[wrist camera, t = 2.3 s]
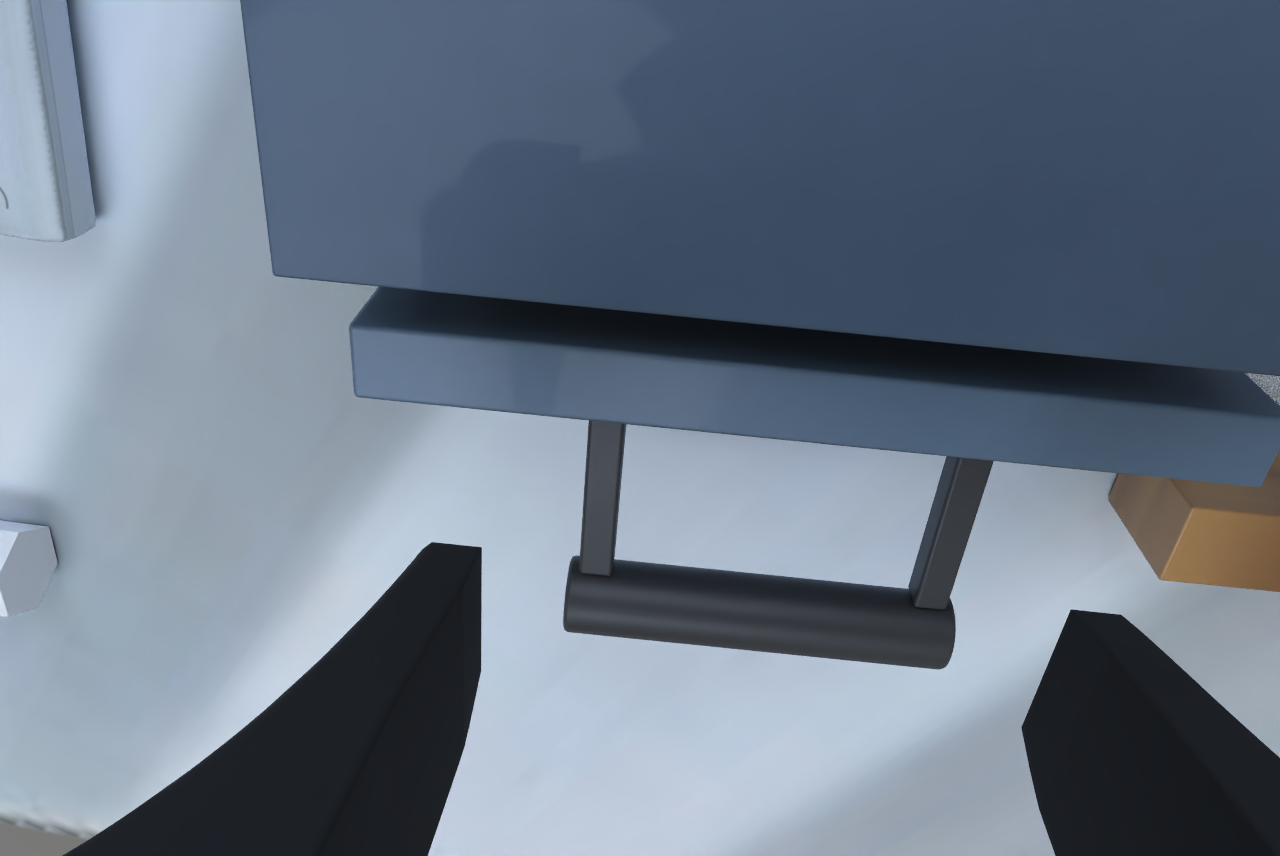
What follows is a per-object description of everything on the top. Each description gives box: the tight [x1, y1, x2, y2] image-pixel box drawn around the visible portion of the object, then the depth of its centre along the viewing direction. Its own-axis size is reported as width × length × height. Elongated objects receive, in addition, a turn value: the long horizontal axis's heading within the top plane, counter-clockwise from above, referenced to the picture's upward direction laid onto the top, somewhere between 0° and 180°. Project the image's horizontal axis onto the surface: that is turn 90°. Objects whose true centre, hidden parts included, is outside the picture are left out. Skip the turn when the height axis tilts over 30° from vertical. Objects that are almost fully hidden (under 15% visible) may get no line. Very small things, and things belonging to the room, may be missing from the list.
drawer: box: [349, 286, 1280, 669], centre depth 15 cm, size 18×13×6 cm
